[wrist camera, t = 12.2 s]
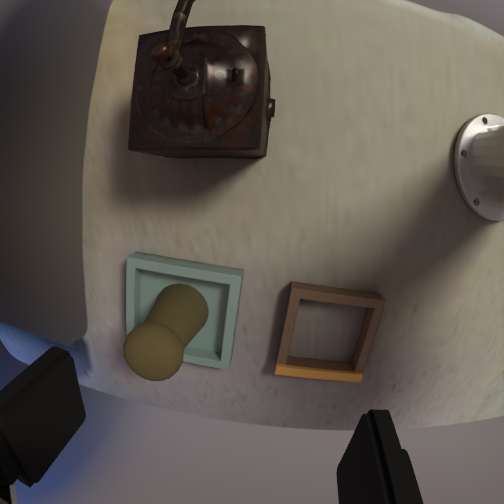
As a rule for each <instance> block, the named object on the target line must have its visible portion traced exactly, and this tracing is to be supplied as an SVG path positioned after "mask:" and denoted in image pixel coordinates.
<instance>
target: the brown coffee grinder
mask: <svg viewBox="0 0 504 504" xmlns="http://www.w3.org/2000/svg"><path fill="white" fill-rule="evenodd" d="M194 1H195V0H179V1H178V3H177V6H176V8H175V11H174V13H173V17H172V21H171V25H170V29H169V30H165V31H159V32H153V33H148V34H143V35H139V40H138V48H137V56H136V63H135V72H134V81H133V89H132V98H131V113H130V129H129V145H128V149H129V150H130V151H135V152H141V153H146V154H152V155H159V156H164V157H172V158H235V159H256V158H260V157H264V156H266V153H267V144H268V135H269V128H270V121H271V117H274V113H275V99H271V98H270V79H271V78H270V71H269V64H268V61H267V49H266V33H265V27H264V26H250V25H237V26H200V27H188V28H185V27H186V23H187V19H188V16H189V13H190V10H191V7H192V4H193V2H194Z"/></svg>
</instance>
